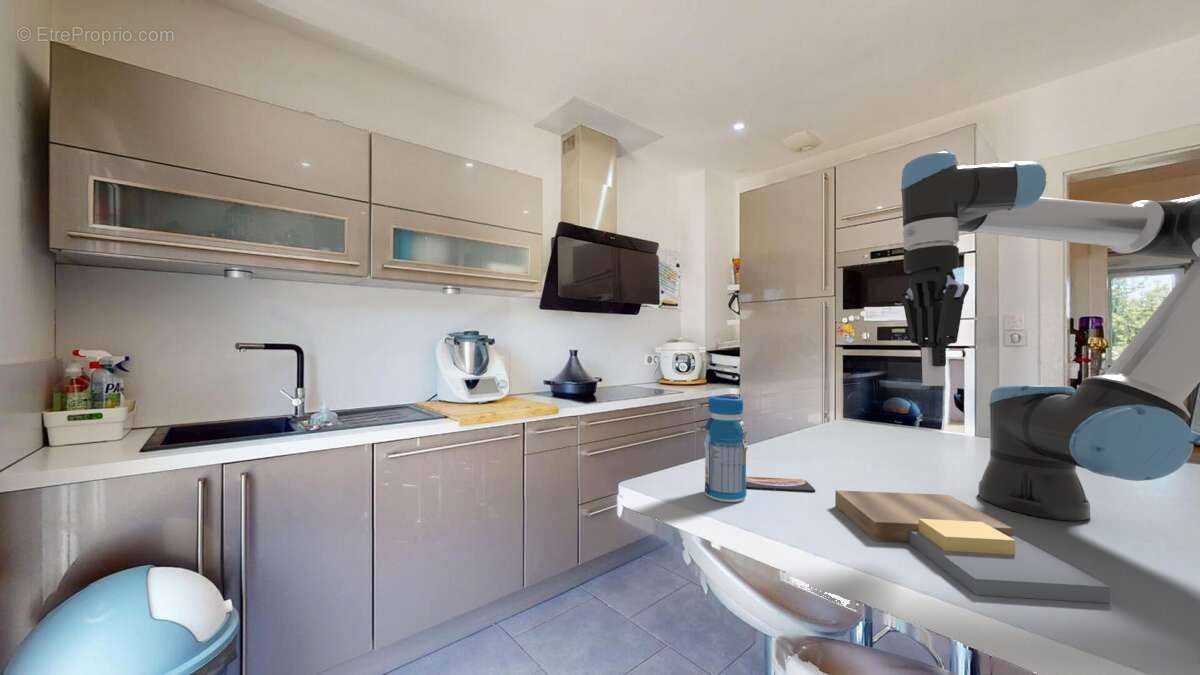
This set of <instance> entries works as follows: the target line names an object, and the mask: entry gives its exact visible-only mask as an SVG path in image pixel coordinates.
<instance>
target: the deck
mask: <svg viewBox="0 0 1200 675" xmlns="http://www.w3.org/2000/svg"><path fill="white" fill-rule="evenodd" d="M834 496H835V497H834V498H835V499H834V500H835V505H834V506H835V507H836V508H837V509H838V510H839V511H840V512H841V513H843V515H845V516H846V517H847V518H848V519H850V521H852V522H853V524H855V525H856V526H857V527H858V528H859V529H861V530H862V531H863V532H864V533H865V534H866V535H867V536H868V537H870V539H872V540H873V541H875V542H890V543H908V544H910V531H919V519H935V520H955V521H975V522H983V523H985V524H987V525H989V526H991V527H992V528H994V529H996V530H998V531H999V532H1001V533H1003V534H1005V535H1010V536H1014V528H1013V527H1011V526H1010V525H1008V524H1006V523H1004V522H1002V521H1000V520H998V519H996V518H994V517H992V516H990V515H989V514H986V513H985V512H982V511H980V510H979V509H977V508H974V507H973V506H971V505H969V504H967V503H965V502H963V501H962V500H960V499H958V498H956V497H953V496H952V495H950V494H941V493H940V494H937V493H936V494H934V493H913V492H911V493H909V492H887V491H886V492H885V491H884V492H883V491H865V490H864V491H863V490H862V491H861V490H859V491H855V490H837V489H836V490H835V494H834Z"/></svg>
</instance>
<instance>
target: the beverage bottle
mask: <svg viewBox="0 0 1200 675" xmlns="http://www.w3.org/2000/svg"><path fill="white" fill-rule="evenodd" d="M743 400H744V399H743V398H742V397H739V396H734V395H711V396H709V398H708V406H707V407H708V414H709V415H711V416H710V417H709V419H708V420H707V422H706V423H705V428H704V433H705V435H706V436H705V438H704V441H703V445H704V446H703V447H704V450H705V453H704V456H705V457H704V460H705V461H704V463H705V467H704V469H705V472H704V473H705V474H704V475H705V476H704V493H705V496H707V497H708V498H710V499H711V500H714V501H718V502H721V503H722V502H723V503H738V502H742V501H744V500H745V499H746V498H747V489H746V477H747V451H748V442H747V440H746V437H747V435H748V433H747V432H748V431H747V428H746V425H745V423H744V422H743V420H742V419H741V417H740V416H742V415H743V413H744V401H743Z"/></svg>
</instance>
